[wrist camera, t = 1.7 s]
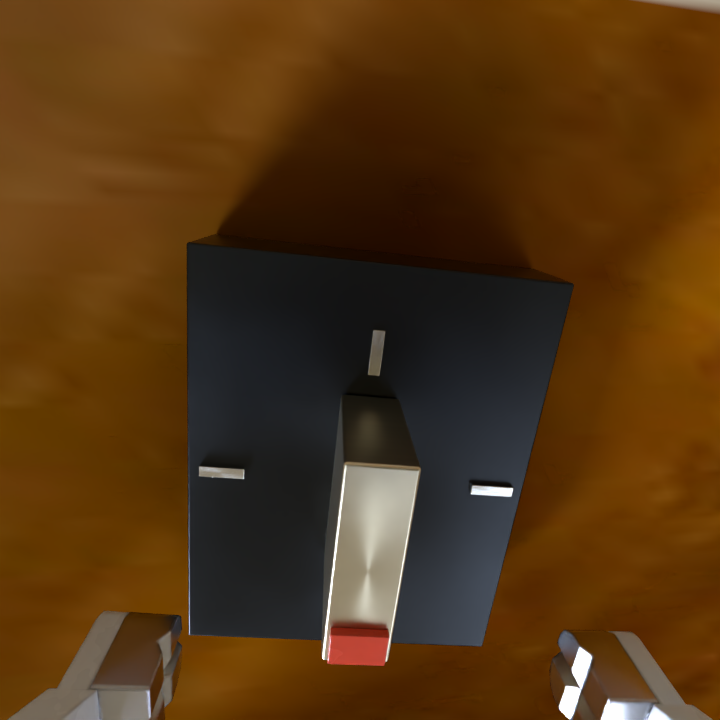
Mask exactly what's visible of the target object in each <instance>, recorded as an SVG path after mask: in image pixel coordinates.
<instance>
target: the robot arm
mask: <svg viewBox="0 0 720 720" xmlns="http://www.w3.org/2000/svg"><path fill="white" fill-rule="evenodd" d="M181 630H182V624H181V616H179V615H166V614H151V613H136V612H114V611H104V612H103V613H102V614H101V615H100V616H99V617H98V618H97V619H96V621H95V622H94V624H93V626H92V628H91V629H90V631H89V633H88V635H87V637H86V638H85V640H84V642H83V644H82V645H81V647H80V649H79V651H78V652H77V654H76V656H75V658H74V659H73V661H72V663H71V665H70V666H69V668H68V670H67V672H66V673H65V675H64V677H63V679H62V680H61V682H60V684H59V686H58V687H57V688H49V689H47V690H46V691H45V692H43V693H42V694H41V695H39V696H38V697H37V698H35V699H34V700H33V701H31V702H30V703H29V704H27V705H26V706H25V707H23V708H22V709H21V710H19V711H18V712H17V713H15V714H14V715H13V716H12V717H10V718H9V719H8V720H165V709H164V707H165V706H166V705H167V704H168V703H170V702H171V701H172V699H173V696H174V693H175V690H176V686H177V683H178V678H179V673H180V669H181V660H182V645H181V644H180V643H179V642H178V639H179V636H180V633H181ZM558 645H559V647H560V649H561V652H560V653H558V654H557V655H556V656H555V657H554V658H553V659H552V663H551V666H550V670H549V671H550V685H551V689H552V693H553V697H554V699H555V701H556V704H557V706H558V708H559V710H560V711H561V712H562V713H563V714H565V715H566V716H567V717H568V718H569V719H570V720H712V719H711V718H710V717H708V716H707V715H706V714H704V713H703V712H702V711H700V710H699V709H698V708H696V707H695V706H694V705H686V704H685V703H684V701H683V700H682V698H681V697H680V695H679V694H678V693H677V691H676V690H675V688H674V687H673V686H672V684H671V683H670V681H669V680H668V678H667V677H666V676H665V674H664V673H663V671H662V670H661V669H660V667H659V666H658V664H657V663H656V661H655V660H654V659H653V657H652V656H651V654H650V653H649V652H648V650H647V649H646V647H645V646H644V644H643V643H642V642H641V640H640V639H639V637H638V636H637V635H635V634H634V633H633V632H623V631H597V630H564V631H563V632H562V633H561V634H560V636H559V639H558Z"/></svg>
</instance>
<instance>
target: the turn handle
mask: <svg viewBox="0 0 720 720" xmlns="http://www.w3.org/2000/svg"><path fill="white" fill-rule="evenodd" d="M420 474H421V467H420V464H419V461H418V458H417V455H416V452H415V448H414V445H413V442H412V439H411V436H410V433H409V429H408V426H407V423H406V420H405V417H404V414H403V411H402V407H401V404H400V401H399V400H398V399H390V398H378V397H366V396H354V395H342V396H341V402H340V412H339V421H338V431H337V440H336V449H335V459H334V468H333V478H332V487H331V496H330V506H329V515H328V525H327V534H326V543H325V553H324V585H323V619H322V653H321V656H322V659H324V660H327V663H328V664H347V665H375V666H384V665H385V662H386V661H388V658H389V652H390V646H391V641H392V635H393V629H394V623H395V618H396V612H397V606H398V600H399V595H400V589H401V583H402V577H403V571H404V566H405V560H406V554H407V548H408V543H409V537H410V531H411V525H412V520H413V514H414V508H415V502H416V497H417V491H418V485H419V479H420Z"/></svg>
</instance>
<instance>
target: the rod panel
mask: <svg viewBox="0 0 720 720" xmlns="http://www.w3.org/2000/svg"><path fill="white" fill-rule="evenodd" d="M573 287H574V284H573V283H571V282H568V281H565V280H563V279H560V278H557V277H554V276H552V275H549V274H546V273H543V272H541V271H538V270H535V269H530V268H521V267H512V266H502V265H493V264H484V263H475V262H465V261H456V260H447V259H438V258H428V257H419V256H410V255H401V254H391V253H382V252H373V251H364V250H354V249H345V248H336V247H327V246H317V245H308V244H299V243H290V242H281V241H271V240H262V239H253V238H244V237H234V236H225V235H216V234H214V235H211V236H208V237H204V238H201V239H198V240H195V241H192V242H188V243H187V390H188V598H189V635H204V636H229V637H254V638H280V639H305V640H322V619H323V585H324V553H325V543H326V534H327V525H328V515H329V506H330V496H331V487H332V478H333V468H334V459H335V449H336V440H337V431H338V421H339V412H340V402H341V396H342V395H354V396H366V397H378V398H390V399H398V400H399V401H400V404H401V407H402V411H403V414H404V417H405V420H406V423H407V426H408V429H409V433H410V436H411V439H412V442H413V445H414V448H415V452H416V455H417V458H418V461H419V464H420V467H421V474H420V479H419V485H418V491H417V497H416V502H415V508H414V514H413V520H412V525H411V531H410V537H409V543H408V548H407V554H406V560H405V566H404V571H403V577H402V583H401V589H400V595H399V600H398V606H397V612H396V618H395V623H394V629H393V635H392V641H391V643H406V644H431V645H456V646H482V644H483V640H484V637H485V633H486V629H487V625H488V621H489V617H490V613H491V609H492V605H493V601H494V597H495V593H496V589H497V585H498V582H499V578H500V574H501V570H502V566H503V562H504V558H505V554H506V550H507V546H508V542H509V538H510V534H511V530H512V526H513V523H514V519H515V515H516V511H517V507H518V503H519V499H520V495H521V491H522V487H523V483H524V479H525V475H526V471H527V468H528V464H529V460H530V456H531V452H532V448H533V444H534V440H535V436H536V432H537V428H538V424H539V420H540V416H541V413H542V409H543V405H544V401H545V397H546V393H547V389H548V385H549V381H550V377H551V373H552V369H553V365H554V361H555V357H556V354H557V350H558V346H559V342H560V338H561V334H562V330H563V326H564V322H565V318H566V314H567V310H568V306H569V302H570V299H571V295H572V291H573Z"/></svg>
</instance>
